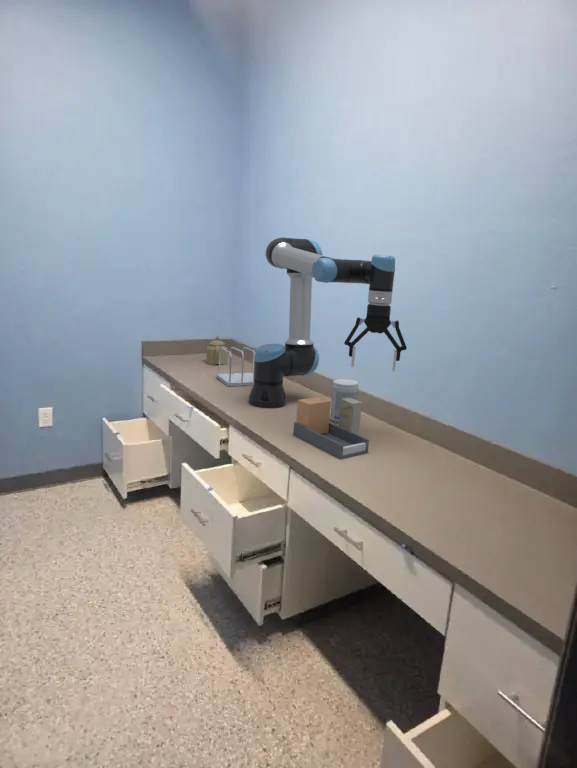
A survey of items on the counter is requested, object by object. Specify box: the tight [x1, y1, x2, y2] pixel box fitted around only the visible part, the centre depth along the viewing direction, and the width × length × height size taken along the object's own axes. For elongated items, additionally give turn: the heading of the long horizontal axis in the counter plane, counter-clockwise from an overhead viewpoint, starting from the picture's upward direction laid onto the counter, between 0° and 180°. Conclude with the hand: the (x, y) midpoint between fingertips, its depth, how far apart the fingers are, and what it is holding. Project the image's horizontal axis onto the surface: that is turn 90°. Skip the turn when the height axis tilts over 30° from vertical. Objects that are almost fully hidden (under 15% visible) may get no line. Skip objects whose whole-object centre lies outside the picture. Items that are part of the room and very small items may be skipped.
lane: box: [292, 421, 370, 460], centre depth 169 cm, size 24×11×4 cm, turn 36°
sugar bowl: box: [206, 334, 228, 365], centre depth 278 cm, size 15×11×15 cm
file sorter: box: [215, 346, 259, 387], centre depth 244 cm, size 25×17×16 cm
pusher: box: [296, 396, 331, 434], centre depth 175 cm, size 6×9×11 cm, turn 126°
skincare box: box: [338, 398, 363, 435], centre depth 178 cm, size 6×4×12 cm
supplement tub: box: [330, 378, 359, 424], centre depth 194 cm, size 10×10×15 cm
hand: (372, 368), depth 175 cm, fingers open, 13 cm apart
